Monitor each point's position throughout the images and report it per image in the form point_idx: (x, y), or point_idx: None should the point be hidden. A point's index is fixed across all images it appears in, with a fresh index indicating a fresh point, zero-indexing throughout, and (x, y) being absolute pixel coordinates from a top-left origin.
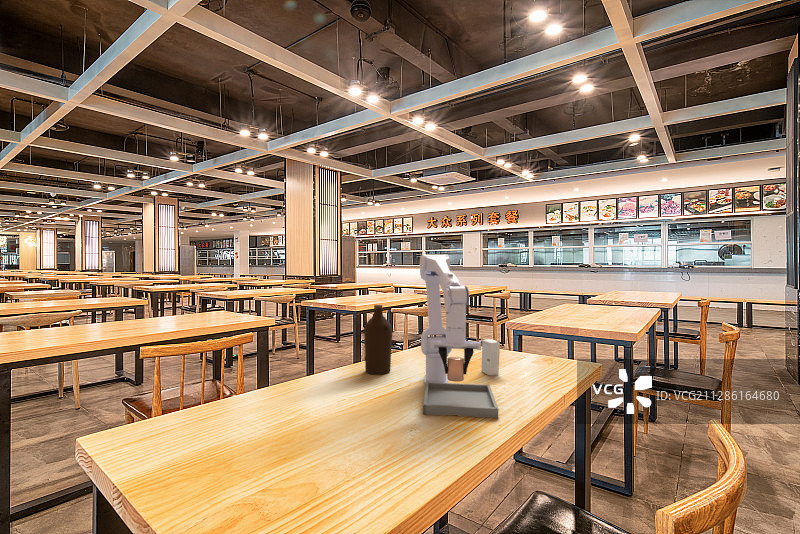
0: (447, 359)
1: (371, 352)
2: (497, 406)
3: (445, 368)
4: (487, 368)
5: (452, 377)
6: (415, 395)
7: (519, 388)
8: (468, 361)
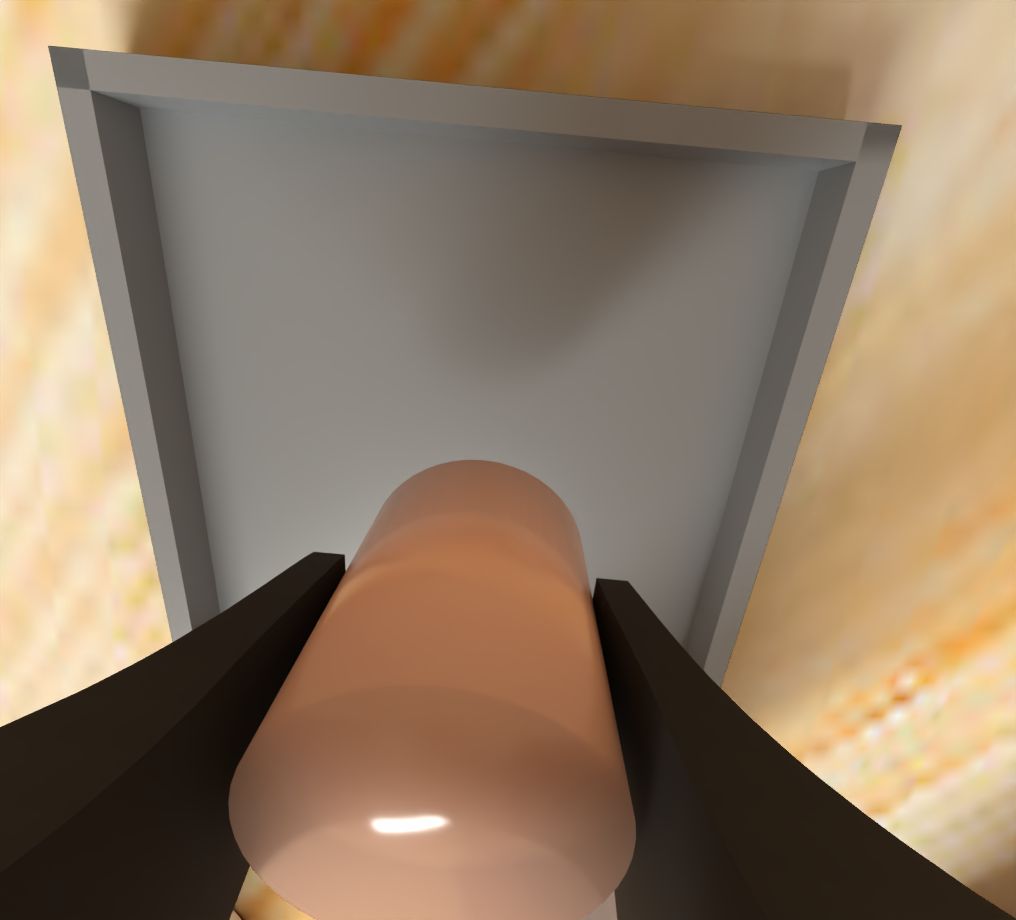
0: (630, 825)
1: None
2: (66, 126)
3: (651, 625)
4: None
5: (528, 496)
6: (794, 587)
7: (12, 714)
8: (112, 686)
